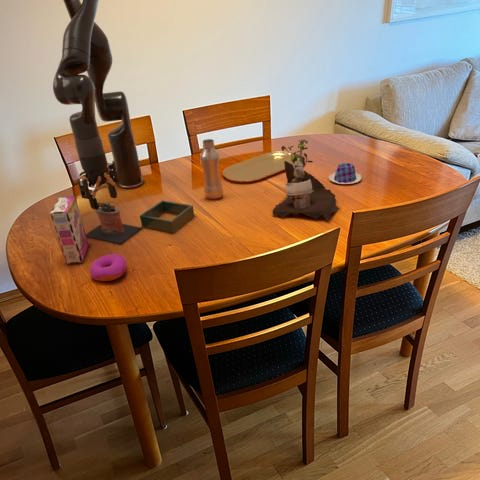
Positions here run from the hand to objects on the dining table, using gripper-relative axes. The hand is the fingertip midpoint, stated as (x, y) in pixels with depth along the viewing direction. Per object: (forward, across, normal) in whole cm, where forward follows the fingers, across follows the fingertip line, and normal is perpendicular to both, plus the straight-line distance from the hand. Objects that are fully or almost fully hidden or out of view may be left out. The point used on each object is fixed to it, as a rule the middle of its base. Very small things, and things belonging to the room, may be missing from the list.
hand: (105, 203), depth 144 cm
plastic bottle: (+10, -35, +18) cm, 41 cm away
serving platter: (+11, -65, +23) cm, 70 cm away
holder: (+10, -13, +13) cm, 21 cm away
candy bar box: (+10, +15, -1) cm, 18 cm away
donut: (+10, +20, +16) cm, 28 cm away
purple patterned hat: (+10, -65, +57) cm, 87 cm away
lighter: (+10, 0, 0) cm, 10 cm away
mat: (+10, 0, 0) cm, 10 cm away
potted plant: (+10, -39, +52) cm, 66 cm away
